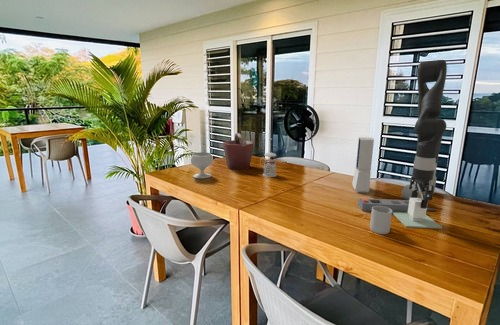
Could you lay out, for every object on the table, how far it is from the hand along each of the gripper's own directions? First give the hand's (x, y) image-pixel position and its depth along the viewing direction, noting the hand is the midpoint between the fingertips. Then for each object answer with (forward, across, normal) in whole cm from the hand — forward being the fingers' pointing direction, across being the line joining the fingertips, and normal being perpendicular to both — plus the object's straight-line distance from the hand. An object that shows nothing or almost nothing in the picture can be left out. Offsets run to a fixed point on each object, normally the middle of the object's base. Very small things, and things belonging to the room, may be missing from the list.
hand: (418, 204), depth 120 cm
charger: (+7, 0, 0) cm, 7 cm away
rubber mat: (+7, 0, 0) cm, 7 cm away
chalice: (+8, +56, +108) cm, 122 cm away
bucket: (+8, +84, +88) cm, 122 cm away
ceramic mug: (+8, +26, -10) cm, 29 cm away
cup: (+8, -10, +18) cm, 22 cm away
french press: (+8, +65, +65) cm, 92 cm away
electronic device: (+8, +40, +12) cm, 42 cm away
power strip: (+8, +12, +3) cm, 14 cm away
